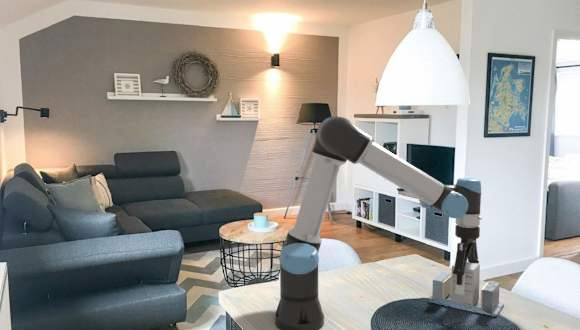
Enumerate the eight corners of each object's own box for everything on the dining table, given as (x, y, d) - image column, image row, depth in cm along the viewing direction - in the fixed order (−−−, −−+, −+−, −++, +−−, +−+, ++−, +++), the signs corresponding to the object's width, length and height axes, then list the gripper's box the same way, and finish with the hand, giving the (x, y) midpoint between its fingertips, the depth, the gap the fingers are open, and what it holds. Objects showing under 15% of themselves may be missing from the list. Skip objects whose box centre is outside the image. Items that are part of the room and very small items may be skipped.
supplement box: (457, 295, 167) (458, 260, 165) (479, 300, 162) (480, 263, 161) (450, 302, 161) (451, 265, 160) (472, 307, 156) (473, 269, 155)
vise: (496, 317, 151) (497, 293, 150) (427, 302, 163) (427, 279, 162) (503, 306, 160) (504, 282, 159) (437, 292, 172) (438, 270, 171)
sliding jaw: (442, 301, 161) (443, 281, 160) (432, 299, 163) (432, 279, 162) (452, 292, 169) (452, 273, 168) (441, 290, 171) (442, 271, 170)
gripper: (468, 234, 146) (466, 301, 149) (488, 219, 167) (486, 279, 169) (444, 231, 151) (442, 296, 153) (466, 217, 171) (464, 275, 173)
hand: (465, 287), depth 161 cm, fingers open, 13 cm apart
